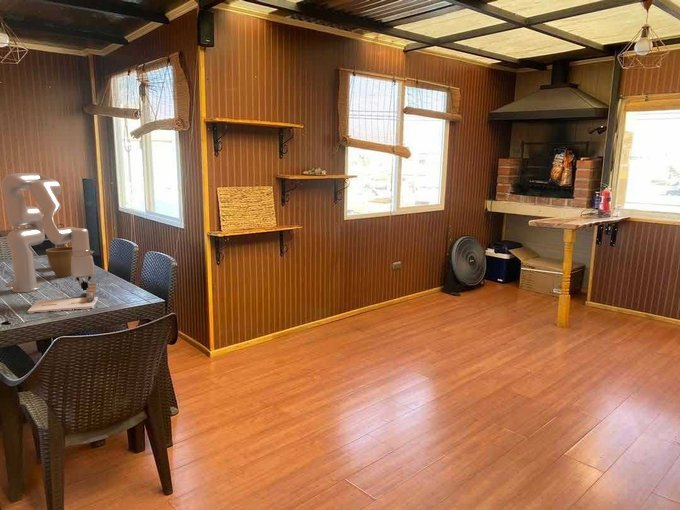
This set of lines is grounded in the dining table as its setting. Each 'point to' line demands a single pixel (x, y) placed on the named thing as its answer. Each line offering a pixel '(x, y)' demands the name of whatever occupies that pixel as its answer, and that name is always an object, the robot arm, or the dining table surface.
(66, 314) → the dining table surface
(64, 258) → the plant pot
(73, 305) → the label plate
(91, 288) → the bar
